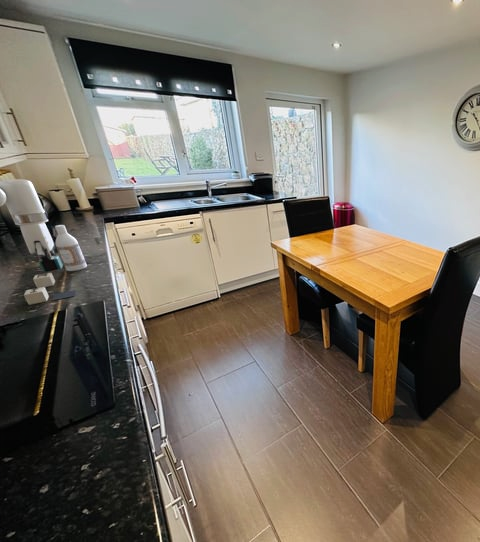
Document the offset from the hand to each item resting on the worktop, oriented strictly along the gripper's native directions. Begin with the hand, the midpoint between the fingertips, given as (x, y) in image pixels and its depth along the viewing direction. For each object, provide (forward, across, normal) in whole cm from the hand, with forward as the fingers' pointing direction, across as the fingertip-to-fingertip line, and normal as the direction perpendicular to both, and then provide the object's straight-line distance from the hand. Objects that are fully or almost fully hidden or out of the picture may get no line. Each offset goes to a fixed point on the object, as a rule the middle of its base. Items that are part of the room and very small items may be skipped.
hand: (52, 267), depth 101 cm
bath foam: (+11, -30, +1) cm, 32 cm away
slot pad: (+11, +1, 0) cm, 11 cm away
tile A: (+11, -15, -7) cm, 20 cm away
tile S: (0, 0, 0) cm, 0 cm away
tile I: (+11, +1, -7) cm, 13 cm away
